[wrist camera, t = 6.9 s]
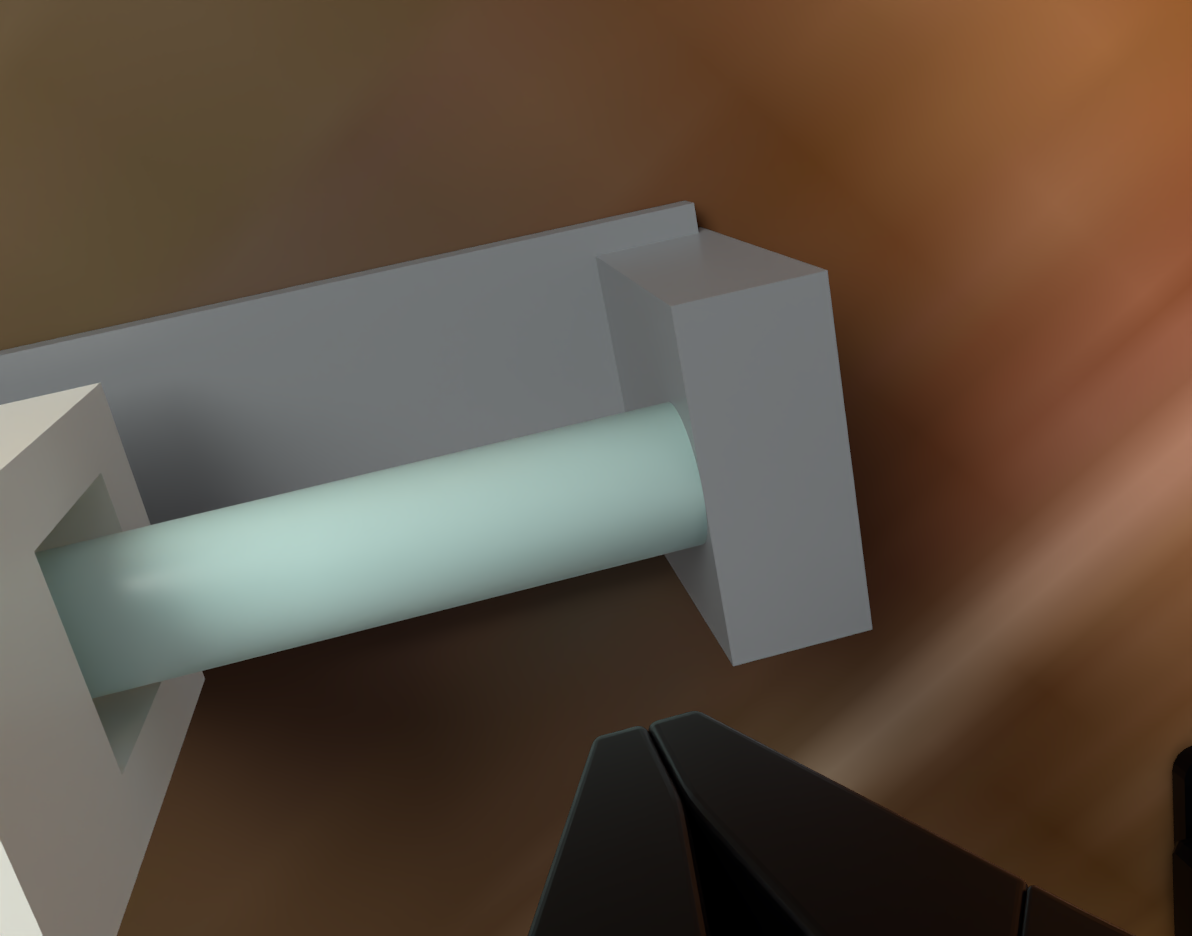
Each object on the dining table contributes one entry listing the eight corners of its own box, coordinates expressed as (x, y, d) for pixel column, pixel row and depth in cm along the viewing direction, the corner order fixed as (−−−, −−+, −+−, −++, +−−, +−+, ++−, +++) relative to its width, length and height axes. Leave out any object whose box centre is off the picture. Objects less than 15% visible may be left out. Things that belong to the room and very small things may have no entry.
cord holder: (695, 198, 19) (844, 235, 13) (747, 516, 21) (897, 685, 15) (-466, 453, 17) (-968, 644, 11) (-292, 777, 19) (-630, 1098, 13)
